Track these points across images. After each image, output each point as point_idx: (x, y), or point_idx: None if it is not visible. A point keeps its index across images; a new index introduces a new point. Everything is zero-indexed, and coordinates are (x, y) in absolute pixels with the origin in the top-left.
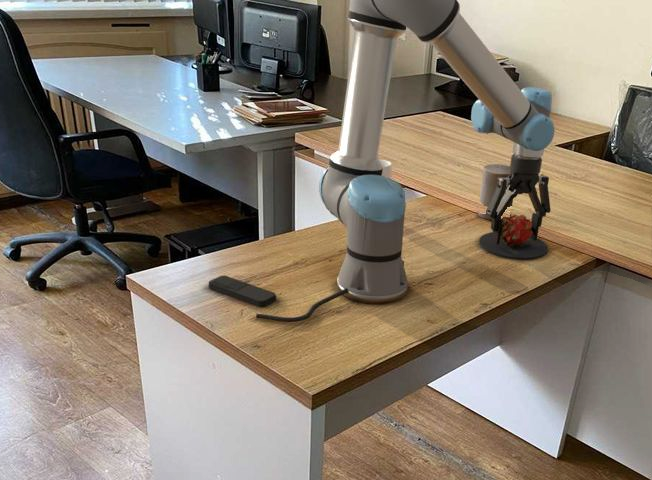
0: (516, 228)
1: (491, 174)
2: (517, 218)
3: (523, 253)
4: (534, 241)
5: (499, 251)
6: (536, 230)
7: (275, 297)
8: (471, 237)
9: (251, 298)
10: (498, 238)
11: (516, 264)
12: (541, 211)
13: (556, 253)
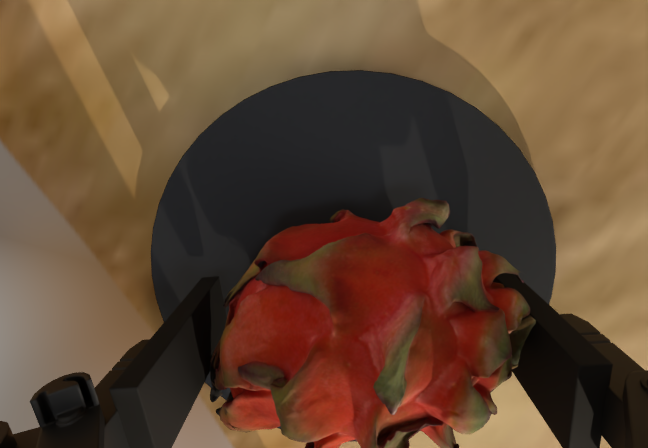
0: (420, 268)
1: None
2: (403, 364)
3: (358, 143)
4: None
5: (497, 197)
6: (188, 310)
7: None
8: (513, 414)
9: None
10: (507, 274)
11: (477, 10)
12: (70, 437)
13: (128, 142)
